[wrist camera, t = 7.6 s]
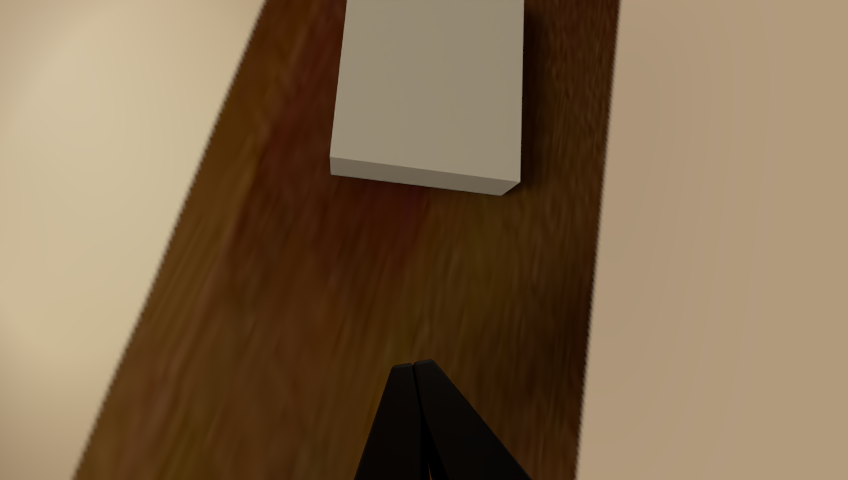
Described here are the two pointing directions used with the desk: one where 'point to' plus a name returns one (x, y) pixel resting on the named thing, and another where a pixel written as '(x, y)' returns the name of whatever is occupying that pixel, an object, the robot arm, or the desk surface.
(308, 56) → the desk surface
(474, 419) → the robot arm
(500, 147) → the tile
